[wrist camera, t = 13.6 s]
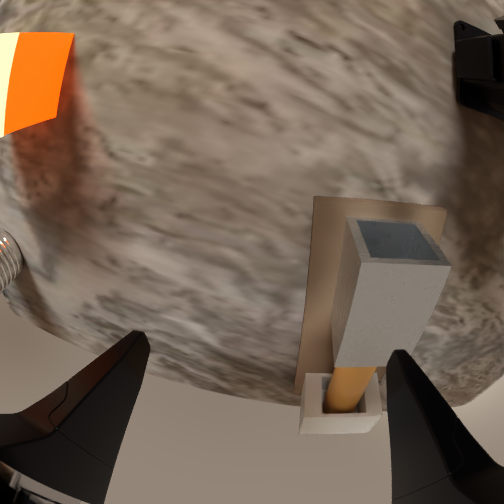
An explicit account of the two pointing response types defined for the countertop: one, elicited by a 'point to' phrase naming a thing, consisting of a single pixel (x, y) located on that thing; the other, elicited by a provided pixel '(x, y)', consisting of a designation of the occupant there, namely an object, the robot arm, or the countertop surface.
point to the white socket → (322, 423)
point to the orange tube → (346, 389)
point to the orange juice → (31, 77)
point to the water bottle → (9, 260)
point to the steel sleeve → (384, 289)
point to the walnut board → (327, 266)
